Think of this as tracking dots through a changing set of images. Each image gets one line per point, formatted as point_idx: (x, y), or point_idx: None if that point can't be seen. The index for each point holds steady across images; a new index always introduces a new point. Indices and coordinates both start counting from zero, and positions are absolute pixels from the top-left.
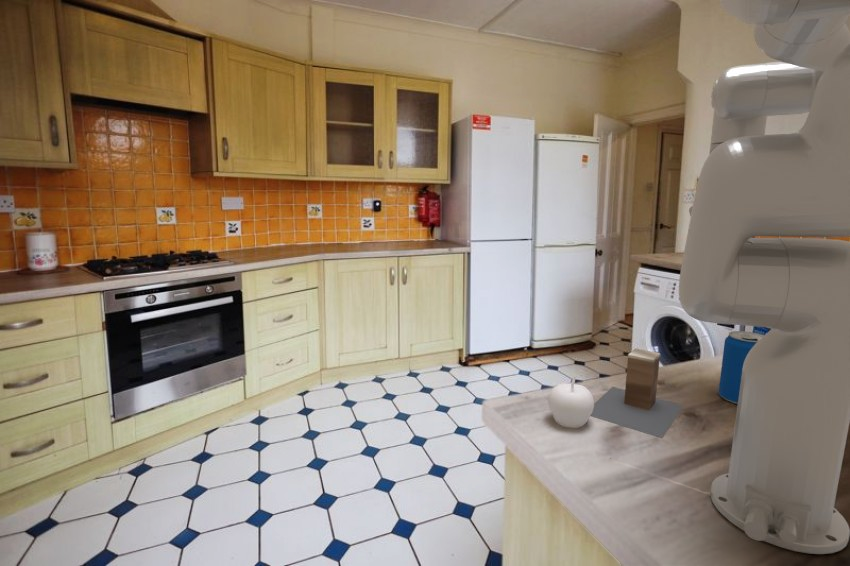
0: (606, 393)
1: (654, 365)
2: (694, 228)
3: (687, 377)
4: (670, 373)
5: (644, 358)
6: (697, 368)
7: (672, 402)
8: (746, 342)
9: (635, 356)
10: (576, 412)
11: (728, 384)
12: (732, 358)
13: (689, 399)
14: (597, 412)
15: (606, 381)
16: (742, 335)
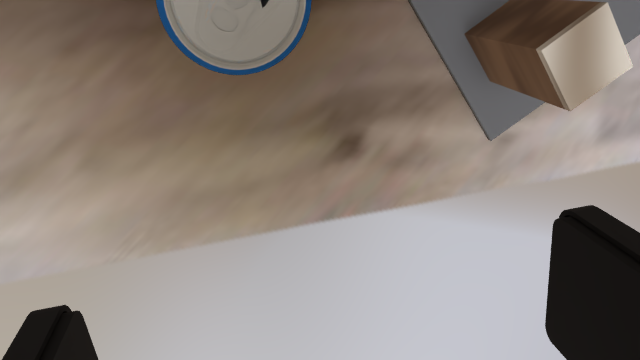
0: (531, 108)
1: (575, 12)
2: None
3: (250, 161)
4: (275, 194)
5: (614, 25)
6: (170, 211)
7: (425, 22)
8: None
9: (624, 48)
10: None
11: None
12: None
13: (356, 37)
14: (623, 21)
15: (470, 180)
16: (242, 21)
